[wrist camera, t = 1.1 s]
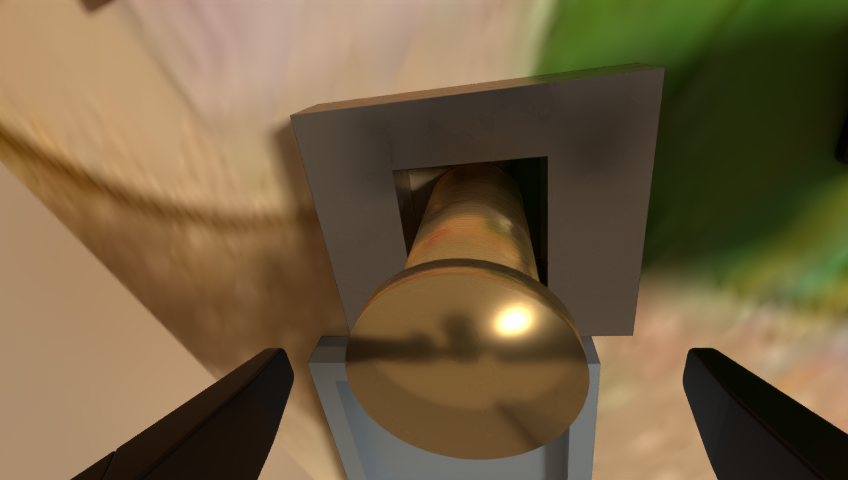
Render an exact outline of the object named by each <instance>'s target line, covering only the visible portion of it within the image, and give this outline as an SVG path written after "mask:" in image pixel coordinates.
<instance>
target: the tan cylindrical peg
mask: <svg viewBox="0 0 848 480" xmlns="http://www.w3.org/2000/svg"><path fill="white" fill-rule="evenodd" d="M345 368H346V373H347V378H348V382H349V384H350V387H351V390H352V392H353V394H354V395H355V397H356V399H357V401H358V402H359V404H360V405H361V406H362V408H363V409H364V410H365V412H366V413H367V414H368V415H369V416H370V417H371V418H372V419H373V420H374V421H375V422H376V423H377V424H379V425H380V426H381V427H382V428H383V429H385V430H386V431H388V432H389V433H391V434H392V435H393V436H395V437H397V438H399V439H400V440H402V441H404V442H406V443H408V444H410V445H412V446H415V447H417V448H419V449H422V450H425V451H428V452H431V453H435V454H439V455H442V456H447V457H453V458H460V459H471V460H488V459H500V458H506V457H512V456H516V455H520V454H523V453H527V452H529V451H532V450H535V449H537V448H539V447H541V446H543V445H545V444H547V443H549V442H551V441H552V440H554V439H555V438H557V437H558V436H559V435H561V434H562V433H563V432H564V431H565V430H566V429H567V428H569V427H570V426H571V424H572V423H573V422H574V421H575V419H576V418H577V417H578V415H579V414H580V412H581V410H582V408H583V407H584V404H585V401H586V398H587V396H588V390H589V384H590V378H589V367H588V362H587V358H586V355H585V351H584V348H583V345H582V341H581V338H580V335H579V331H578V329H577V326H576V324H575V322H574V319H573V318H572V316H571V314H570V313H569V311H568V309H567V308H566V307H565V305H564V304H563V303H562V302H561V301H560V299H559V298H558V297H557V296H556V295H555V294H554V293H552V292H551V291H550V290H549V289H548V288H547V287H546V286H544V285H543V284H541V283H540V282H539V277H538V273H537V268H536V263H535V258H534V253H533V248H532V243H531V238H530V233H529V228H528V224H527V219H526V214H525V209H524V204H523V199H522V195H521V192H520V189H519V187H518V185H517V184H516V182H515V181H514V180H513V178H512V177H511V176H510V175H509V174H508V173H506V172H505V171H503V170H502V169H500V168H498V167H496V166H493V165H491V164H487V163H479V162H477V163H466V164H462V165H459V166H457V167H454V168H452V169H451V170H449V171H448V172H446V173H445V174H444V175H443V176H442V177H441V178H440V179H439V180H438V182H437V183H436V185H435V186H434V188H433V191H432V194H431V196H430V199H429V202H428V205H427V207H426V210H425V213H424V216H423V218H422V221H421V224H420V227H419V229H418V232H417V235H416V238H415V240H414V243H413V246H412V249H411V251H410V254H409V257H408V260H407V262H406V265H405V268H404V270H403V271H401V272H399V273H397V274H395V275H393V276H392V277H391V278H389V279H388V280H386V281H385V282H384V283H382V284H381V285H380V286H379V287H378V288H377V289H376V290H375V291H374V292H373V293H372V295H371V296H370V297H369V299H368V300H367V301H366V303H365V305H364V307H363V309H362V311H361V313H360V315H359V317H358V319H357V321H356V323H355V326H354V328H353V330H352V332H351V334H350V337H349V340H348V343H347V346H346V354H345Z"/></svg>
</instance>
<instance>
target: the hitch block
mask: <svg viewBox="0 0 848 480" xmlns="http://www.w3.org/2000/svg"><path fill="white" fill-rule="evenodd" d="M664 73H665V68H662V67H657V66H652V65H646V64H641V63H632V64H624V65H616V66H609V67H601V68H593V69H586V70H578V71H570V72H563V73H555V74H547V75H540V76H532V77H524V78H517V79H509V80H501V81H494V82H486V83H478V84H470V85H463V86H455V87H447V88H440V89H432V90H424V91H417V92H409V93H401V94H394V95H386V96H378V97H371V98H363V99H355V100H348V101H340V102H332V103H325V104H317V105H315V106H312V107H310V108H307V109H305V110H302V111H300V112H297V113H295V114H292V115H290V117H291V121H292V125H293V128H294V132H295V135H296V139H297V143H298V146H299V150H300V154H301V157H302V161H303V164H304V168H305V172H306V175H307V179H308V183H309V186H310V190H311V193H312V197H313V201H314V204H315V208H316V212H317V215H318V219H319V222H320V226H321V230H322V233H323V237H324V241H325V244H326V248H327V251H328V255H329V259H330V262H331V266H332V270H333V273H334V277H335V280H336V284H337V288H338V291H339V295H340V299H341V302H342V306H343V309H344V313H345V317H346V320H347V324H348V328H349V331H350V334H351V332H352V330H353V328H354V326H355V323H356V321H357V319H358V317H359V315H360V313H361V311H362V309H363V307H364V305H365V303H366V301H367V300H368V299H369V297H370V296H371V295H372V293H373V292H374V291H375V290H376V289H377V288H378V287H379V286H380V285H381V284H382V283H384V282H385V281H386V280H388V279H389V278H391V277H392V276H393V275H395V274H397V273H399V272H401V271H403V270H404V268H405V265H406V262H407V260H408V257H409V254H410V251H411V249H412V246H413V243H414V240H415V238H416V235H417V232H418V231H417V225H416V218H415V212H414V206H413V200H412V193H411V187H410V181H409V174H408V169H412V168H423V167H434V166H445V165H456V164H466V163H477V162H488V161H499V160H509V159H520V158H531V157H540V244H541V259H535V263H536V268H537V273H538V277H539V282H540V283H541V284H543V285H544V286H546V287H547V288H548V289H549V290H550V291H551V292H552V293H554V294H555V295H556V296H557V297H558V298H559V299H560V301H561V302H562V303H563V304H564V305H565V307H566V308H567V309H568V311H569V313H570V314H571V316H572V318H573V319H574V322H575V324H576V326H577V329H578V331H579V335H580V336H633V331H634V323H635V314H636V306H637V298H638V289H639V281H640V273H641V264H642V256H643V248H644V239H645V231H646V223H647V215H648V206H649V198H650V190H651V181H652V173H653V165H654V156H655V148H656V140H657V131H658V123H659V115H660V106H661V98H662V90H663V82H664Z"/></svg>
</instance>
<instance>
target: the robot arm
mask: <svg viewBox="0 0 848 480" xmlns="http://www.w3.org/2000/svg"><path fill="white" fill-rule="evenodd" d="M835 158H836V160H837V161H838V162H840V163H842V164H845V165H848V114H847V117H846V120H845V123H844V126H843V129H842V132H841V136H840V139H839V142H838V145H837V148H836V151H835ZM293 381H294V373H293V370H292V367H291V364H290V362H289V359H288V357H287V354H286V352H285V350H284V349H282V348H267V349H265V350H263V351H262V352H260V353H259V354H257V355H256V356H254V357H253V358H251V359H250V360H248V361H247V362H245V363H244V364H242V365H241V366H239V367H238V368H236V369H235V370H233V371H232V372H230V373H229V374H228V375H226V376H225V377H223V378H222V379H220V380H219V381H217V382H216V383H214V384H213V385H211V386H210V387H208V388H207V389H205V390H204V391H202V392H201V393H199V394H198V395H196V396H195V397H194V398H192V399H190V400H189V401H188V402H186V403H184V404H183V405H181V406H180V407H179V408H177V409H175V410H174V411H172V412H171V413H169V414H168V415H166V416H165V417H164V418H162V419H160V420H159V421H158V422H156V423H155V424H153V425H152V426H150V427H149V428H147V429H146V430H144V431H143V432H141V433H140V434H138V435H137V436H135V437H134V438H132V439H131V440H129V441H128V442H126V443H125V444H123V445H122V446H120V447H119V448H117V450H116V451H113V452H111V453H110V454H108V455H107V456H105V457H104V458H102V459H101V460H99V461H98V462H96V463H95V464H93V465H92V466H90V467H89V468H87V469H86V470H85V471H83V472H81V473H80V474H78V475H77V476H75V477H74V478H72V479H71V480H257V479H258V477H259V475H260V472H261V470H262V468H263V465H264V463H265V461H266V459H267V456H268V454H269V452H270V449H271V447H272V444H273V442H274V439H275V436H276V434H277V431H278V428H279V425H280V422H281V418H282V415H283V412H284V409H285V406H286V403H287V400H288V397H289V394H290V391H291V388H292V385H293ZM683 387H684V390H685V393H686V396H687V399H688V402H689V405H690V407H691V410H692V413H693V416H694V419H695V422H696V424H697V427H698V430H699V433H700V436H701V438H702V441H703V444H704V447H705V450H706V453H707V455H708V458H709V460H710V463H711V465H712V468H713V470H714V472H715V474H716V477H717V479H718V480H848V434H847V433H845V432H843V431H842V430H840V429H839V428H837V427H836V426H834V425H833V424H831V423H830V422H828V421H826V420H825V419H823V418H822V417H820V416H819V415H817V414H816V413H814V412H812V411H811V410H809V409H808V408H806V407H805V406H803V405H802V404H800V403H798V402H797V401H795V400H794V399H792V398H791V397H789V396H788V395H786V394H784V393H783V392H781V391H780V390H778V389H777V388H775V387H774V386H772V385H771V384H769V383H767V382H766V381H764V380H763V379H761V378H760V377H758V376H757V375H755V374H753V373H752V372H750V371H749V370H747V369H746V368H744V367H743V366H741V365H739V364H738V363H736V362H735V361H733V360H732V359H730V358H729V357H727V356H725V355H724V354H722V353H721V352H719V351H718V350H716V349H713V348H692V349H690V350H689V351H688V354H687V359H686V364H685V369H684V374H683Z"/></svg>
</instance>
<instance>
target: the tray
mask: <svg viewBox="0 0 848 480" xmlns="http://www.w3.org/2000/svg"><path fill="white" fill-rule="evenodd" d="M349 337H350V336H341V337H321V339H320V341H319V342H318V344H317V346H316V348H315V350H314V351H313V353H312V355H311V357H310V359H309V360H308V362H307V364H308V367H309V370H310V373H311V376H312V378H313V381H314V384H315V387H316V390H317V393H318V396H319V398H320V401H321V404H322V407H323V410H324V413H325V416H326V418H327V421H328V424H329V427H330V430H331V433H332V435H333V438H334V441H335V444H336V447H337V450H338V453H339V455H340V458H341V461H342V464H343V467H344V470H345V473H346V475H347V478H348V480H592V467H593V454H594V441H595V429H596V416H597V403H598V390H599V377H600V361H599V358H598V355H597V352H596V349H595V346H594V343H593V340H592V337H591V336H580V338H581V341H582V345H583V348H584V351H585V355H586V358H587V362H588V367H589V378H590V384H589V390H588V396H587V398H586V401H585V404H584V407H583V408H582V410H581V412H580V414H579V415H578V417H577V418H576V419H575V421H574V422H573V423H572V424H571V426H570V427H569V428H567V429H566V430H565V431H564V432H563V433H562V434H561V435H559V436H558V437H557V438H555V439H554V440H552V441H551V442H549V443H547V444H545V445H543V446H541V447H539V448H537V449H535V450H532V451H529V452H527V453H523V454H520V455H516V456H512V457H506V458H500V459H488V460H471V459H460V458H453V457H447V456H442V455H439V454H435V453H431V452H428V451H425V450H422V449H419V448H417V447H415V446H412V445H410V444H408V443H406V442H404V441H402V440H400V439H399V438H397V437H395V436H393V435H392V434H391V433H389V432H388V431H386V430H385V429H383V428H382V427H381V426H380V425H379V424H377V423H376V422H375V421H374V420H373V419H372V418H371V417H370V416H369V415H368V414H367V413H366V412H365V410H364V409H363V408H362V406H361V405H360V404H359V402H358V401H357V399H356V397H355V395H354V394H353V392H352V390H351V387H350V384H349V382H348V378H347V373H346V368H345V354H346V346H347V343H348V340H349Z"/></svg>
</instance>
